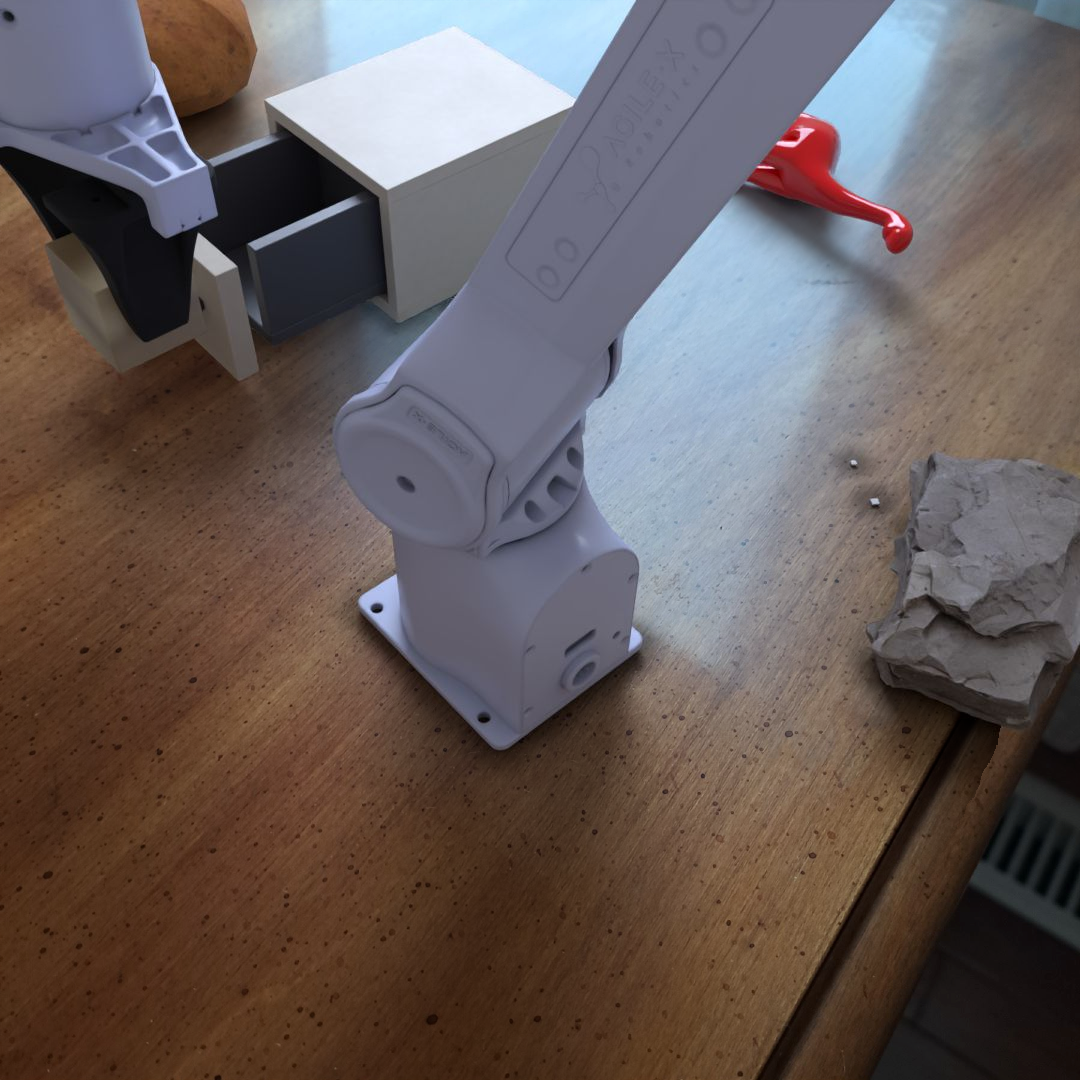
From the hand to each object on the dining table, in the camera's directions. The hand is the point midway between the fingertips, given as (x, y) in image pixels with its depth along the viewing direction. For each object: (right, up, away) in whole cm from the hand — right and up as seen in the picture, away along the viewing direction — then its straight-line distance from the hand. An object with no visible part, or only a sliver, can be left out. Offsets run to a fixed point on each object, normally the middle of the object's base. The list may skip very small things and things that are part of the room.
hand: (133, 299), depth 48 cm
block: (0, -1, +1) cm, 1 cm away
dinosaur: (+28, +14, +24) cm, 40 cm away
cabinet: (+10, +8, +20) cm, 24 cm away
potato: (-6, +18, +29) cm, 35 cm away
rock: (+31, -8, +4) cm, 32 cm away
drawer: (+1, +3, +14) cm, 14 cm away
